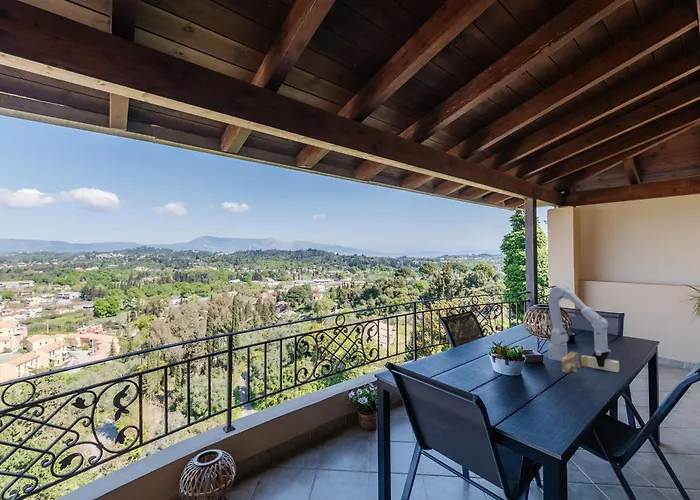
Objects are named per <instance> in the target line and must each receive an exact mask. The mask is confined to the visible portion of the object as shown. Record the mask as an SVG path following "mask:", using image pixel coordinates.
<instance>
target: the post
mask: <svg viewBox="0 0 700 500" xmlns="http://www.w3.org/2000/svg"><path fill="white" fill-rule="evenodd" d="M581 367H582V366H581V361H579V356H578V352H576V351H570V352H569V353H567V355H566V356H565V357H563V358H562V361H561V369H562V371H561V372H562V373H567V374H570V373H572V372H573V373H577V371H578V370H577V369H581Z"/></svg>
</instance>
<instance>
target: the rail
mask: <svg viewBox="0 0 700 500" xmlns="http://www.w3.org/2000/svg"><path fill="white" fill-rule="evenodd" d="M582 366H583V367H587V368H593V369H598V370H603V371H609V372H615V373H619V372H620V361H619V360H615V359H608V358H607V359H605V362H604V367H599V366H598V363H597V360H596V358H595V356H590V355H586V354H585V355H584V354H583V355H581V356H580V367H582Z"/></svg>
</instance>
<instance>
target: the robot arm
mask: <svg viewBox="0 0 700 500" xmlns="http://www.w3.org/2000/svg"><path fill="white" fill-rule="evenodd" d="M562 299H567V300H569V301H570V302H572V303H573V304H574V305H575V306H576V307H577V308H578V309H579V310H580V311H581V315H582V316H583V317H584V318H586V319H587V321H589V323H591V327H592V328H593V340H594V341H593V342H594V349H593V350H594V352H593V357H595V358H596V360H597V363H598V366H599V367H604V362H605V359H608V356H609V354H610V352H612V350H611V349H609V346H608V345H609V343H608V326H609V321H608V320H607V319H606V318H604V317H603V316H601V315H599V314H598V312H596V311H595V308H593V307H590V306H587V305H586V304H585V303H584V302H583V301H582V300H581V299H580V298H579V297H578V295H576V294H575V293H574V290H573V289H571V288H570V287H569V286H567V285H563V284H562V285H558V286H557V285H556V286H554V287H552V289H550V293H549V295H548V297H547V302H548V307H549V313H550V319H551V325H552V329H551V332H550V335H551V336H550V342H549V343H548V344H547V345H548V347H547V352H548V355H547V356H548V359H549V360H552V361H558V362H559V361H560V362H562V358H563V357H565V356H566V355H567V354H568V343H567V342H569V339H570V337H569V335H568V334H567V332H566V329H565V328H564V325H563V319H562V314H561V309H560V308H561V307H560V302H561V300H562Z"/></svg>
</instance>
